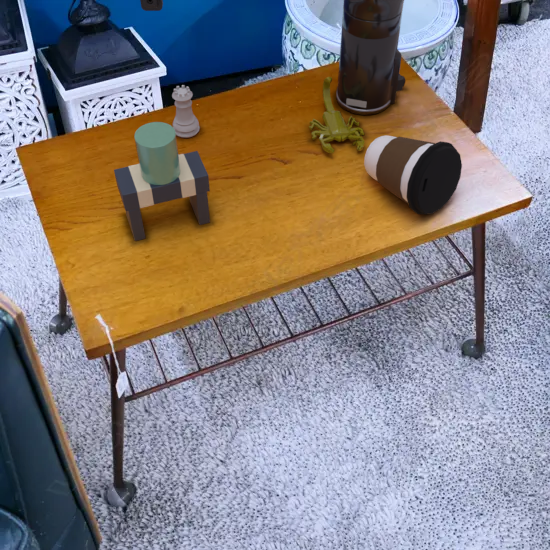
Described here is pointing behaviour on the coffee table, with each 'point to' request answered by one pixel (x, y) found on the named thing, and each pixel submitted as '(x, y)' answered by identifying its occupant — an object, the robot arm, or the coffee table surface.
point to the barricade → (164, 191)
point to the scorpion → (335, 124)
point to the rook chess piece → (184, 113)
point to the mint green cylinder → (157, 153)
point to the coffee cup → (415, 170)
